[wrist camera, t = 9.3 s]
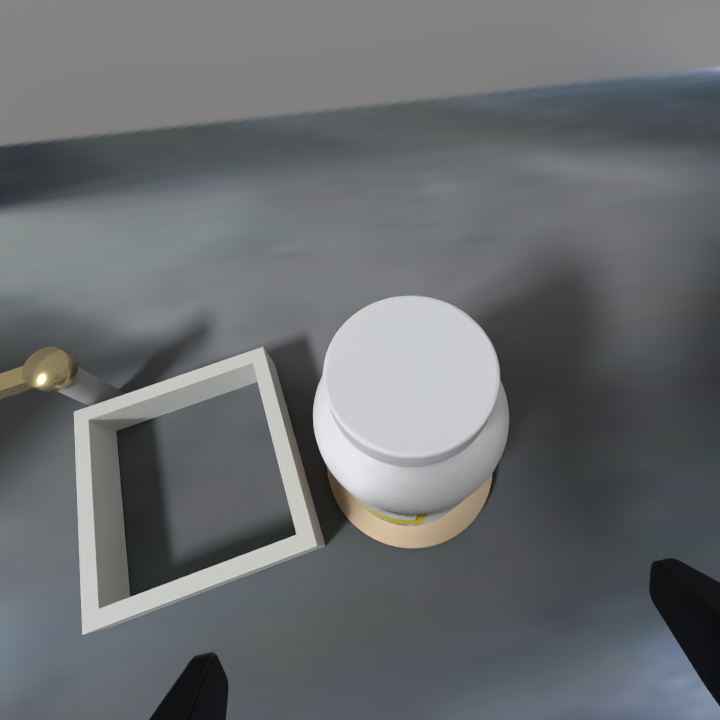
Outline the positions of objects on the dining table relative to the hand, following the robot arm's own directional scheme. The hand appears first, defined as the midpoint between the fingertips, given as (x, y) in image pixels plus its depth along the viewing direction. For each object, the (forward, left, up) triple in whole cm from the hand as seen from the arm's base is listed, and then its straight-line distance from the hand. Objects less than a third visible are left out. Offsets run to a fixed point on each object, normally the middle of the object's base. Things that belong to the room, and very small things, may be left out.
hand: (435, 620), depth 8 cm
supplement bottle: (+5, -3, -13) cm, 14 cm away
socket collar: (+11, +7, -14) cm, 19 cm away
